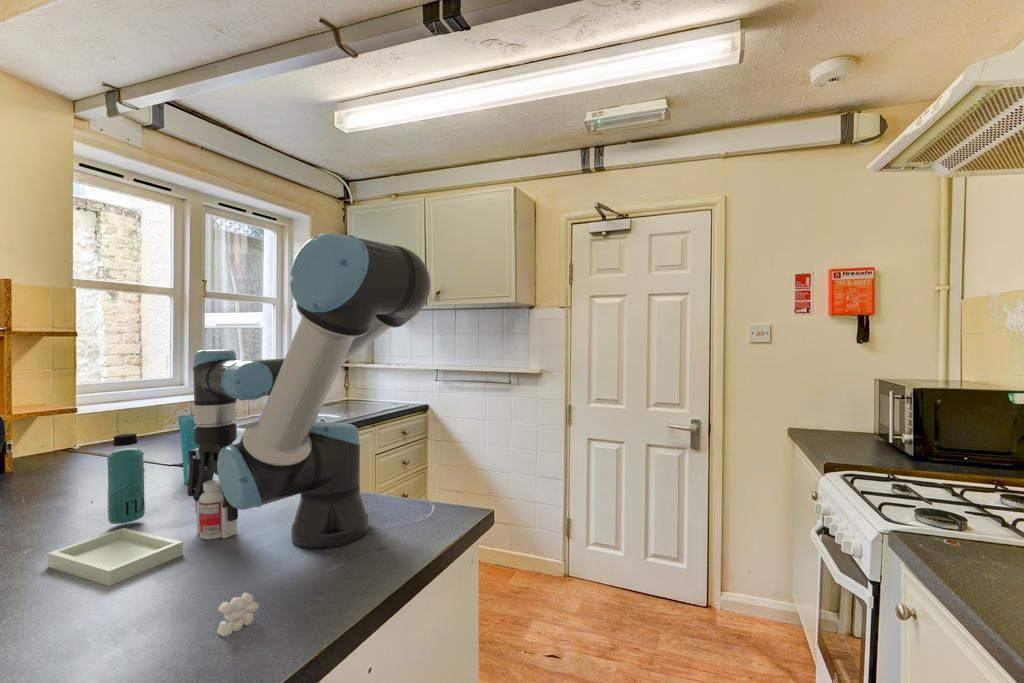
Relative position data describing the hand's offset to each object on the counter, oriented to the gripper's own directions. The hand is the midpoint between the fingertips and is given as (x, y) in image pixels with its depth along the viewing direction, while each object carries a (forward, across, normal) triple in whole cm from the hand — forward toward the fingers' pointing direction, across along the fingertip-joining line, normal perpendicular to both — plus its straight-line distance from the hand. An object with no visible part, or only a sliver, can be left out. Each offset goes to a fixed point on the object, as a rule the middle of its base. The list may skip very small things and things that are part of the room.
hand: (216, 532), depth 99 cm
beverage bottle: (+1, +23, +4) cm, 23 cm away
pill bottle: (0, 0, 0) cm, 0 cm away
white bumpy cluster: (0, -33, +21) cm, 39 cm away
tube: (+1, +41, -23) cm, 47 cm away
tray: (0, +6, +15) cm, 16 cm away
